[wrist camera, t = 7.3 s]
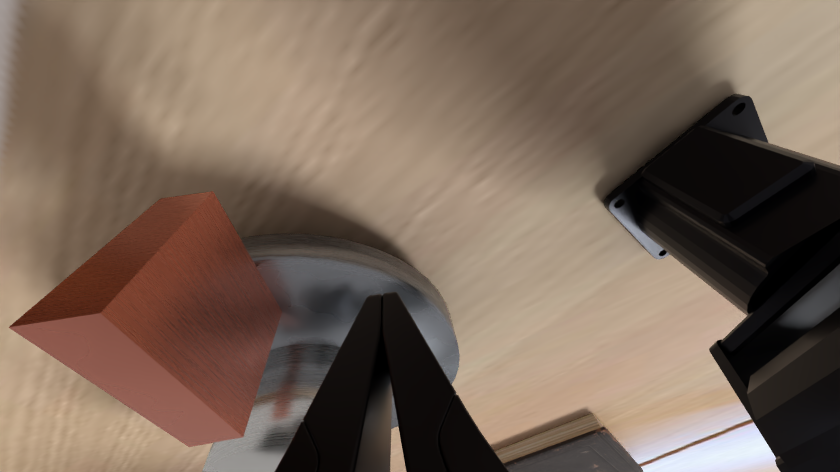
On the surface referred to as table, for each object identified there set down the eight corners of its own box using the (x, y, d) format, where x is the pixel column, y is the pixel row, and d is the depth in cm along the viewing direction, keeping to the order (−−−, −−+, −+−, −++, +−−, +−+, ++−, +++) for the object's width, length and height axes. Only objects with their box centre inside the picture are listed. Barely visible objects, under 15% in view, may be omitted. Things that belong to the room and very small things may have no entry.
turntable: (511, 312, 17) (570, 439, 12) (356, 428, 24) (352, 544, 18) (204, 146, 10) (15, 289, 5) (99, 380, 16) (-30, 552, 11)
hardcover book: (592, 406, 32) (606, 429, 30) (632, 452, 44) (643, 471, 42) (465, 455, 36) (470, 479, 34) (534, 485, 48) (541, 503, 47)
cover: (406, 367, 16) (417, 474, 12) (338, 423, 18) (329, 524, 15) (275, 325, 12) (234, 454, 9) (216, 401, 15) (166, 523, 12)
